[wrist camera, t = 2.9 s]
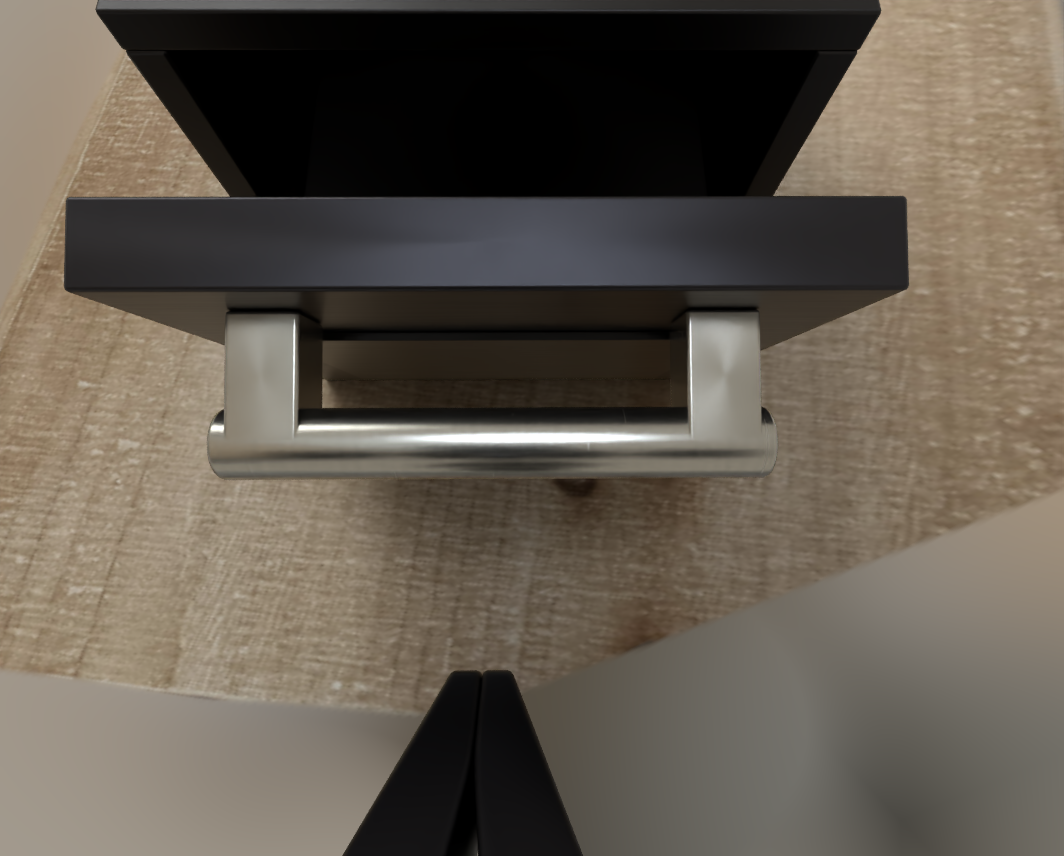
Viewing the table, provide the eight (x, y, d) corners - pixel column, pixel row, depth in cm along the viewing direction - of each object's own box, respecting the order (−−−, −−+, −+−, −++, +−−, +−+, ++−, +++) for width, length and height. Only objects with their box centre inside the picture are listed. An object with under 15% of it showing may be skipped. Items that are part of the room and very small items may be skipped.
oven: (691, 335, 23) (882, 11, 11) (329, 335, 23) (93, 11, 10) (663, 39, 27) (776, -435, 15) (360, 39, 27) (219, -439, 15)
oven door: (696, 463, 22) (916, 482, 10) (325, 465, 22) (56, 486, 10) (694, 337, 23) (908, 194, 10) (326, 338, 22) (62, 194, 10)
